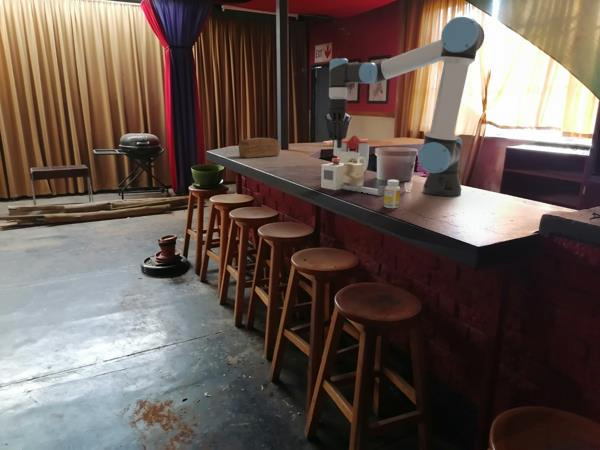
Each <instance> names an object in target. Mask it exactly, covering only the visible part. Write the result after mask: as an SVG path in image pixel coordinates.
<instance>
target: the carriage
mask: <svg viewBox="0 0 600 450" xmlns="http://www.w3.org/2000/svg"><path fill="white" fill-rule="evenodd" d="M364 176H365V174H364V164H360V163H352V162H350V163H344V168H343V185H348V186H354V187H358V186H362V187H363V186H364V179H365V177H364Z"/></svg>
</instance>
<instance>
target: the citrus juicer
mask: <svg viewBox="0 0 600 450" xmlns="http://www.w3.org/2000/svg"><path fill="white" fill-rule="evenodd" d="M370 143H371V141H369V140H362V139H360V138H359V137H358V136H357V135H356V134H353V135H352V137H350V138H349V139H343V140H342V147H341V148H340V152H357V153H360V155H359V157H364V158H365V159H366V161H367V168H366V170H365V172H364V175H365V174H366V171H367V169H368V166H369V157H370ZM359 162H360V164H364V160H360V161H359Z"/></svg>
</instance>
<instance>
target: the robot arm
mask: <svg viewBox="0 0 600 450" xmlns="http://www.w3.org/2000/svg"><path fill="white" fill-rule="evenodd" d="M484 40H485V31H484V29H483V27H482V25H481V24H479V23H478V21H476V20H475V19H474V18H472V17H471V16H467V15H460V16H459V15H458V16H456V17H454V18H453V17H452V19H449V21H448V22H447V23H446V24H445V25H444V27H443V29H442V31H441V38H440V39H439V40H435V41H433V42H429V43H428V44H424V45H422V46H419V47H417V48H414V49H412V50H409V51H407V52H404V53H400V54H398V55H395V56H393V57H391V58H387V59H385V60H382V61H379V62H377V63H374V62H366V61H365V62H358V63H357V62H356V63H349V60H348V59H347V58H333V59H331V60H330V61H329V68H328V69H329V70H328V71H329V74H328V76H329V77H328V81H329V84H328V87H329V88H328V97H329V98H330V99H328V108H329V111H328V114H327V115H324V116H323V117H324V120H325V122H326V127H327V134H328V139H331V140H332V148H333V152H334V153H333V156H335V157H337V156H339V155H340V148H341V147H342V140H346V138H347V133H348V129H349V125H350V121H351V120H352V116H351V115H349V114H348V112H347V107H348V99H347V98H348V84H369V85H378V84H381V83H383V81H386V80H390V79H392V78H395V77H398V76H401V75H404V74H406V73H410V72H412V71H416V70H419V69H422V68H425V67H427V66H430V65H433V64H436V63H438V62H441V61H442V62H443V65H442V70H441V75H440V80H439V86H438V89H437V95H436V101H435V106H434V110H433V111H434V112H433V116H432V121H431V126H430V130H429V131H428V132H427V133H425V135H424V140H423V143H422V146H421V148H420V150H419V152H418V154H417V155H418V156H417V160H418V163H419V166H420V167H421V169H423V170H424V171H425V172H427V173H428V175H427V177H426V179H425V182H424V184H423V185H422V192H423V193H425V194H428V195H431V196H438V197H439V196H440V197H455V196H460V195H461V194H462V186H461V182H460V177H459V172H460V171H459V170H460V163H461V156H462V155H461V154H462V148H463V140H462V138H461V137H459V136H456V135H455V131H456V126H457V122H458V117H459V111H460V108H461V103H462V98H463V93H464V89H465V86H466V85H465V84H466V80H467V77H468V76H467V75H468V71H469V66H470V65H471V64H473V62H475V60H476V55H477V52H478V51H479V49H480V48H481V47H482V45H483V43H484Z"/></svg>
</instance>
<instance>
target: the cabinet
mask: <svg viewBox="0 0 600 450" xmlns="http://www.w3.org/2000/svg"><path fill="white" fill-rule="evenodd" d="M343 168H344V163H339V165H333V162H331V163H323V164H321V171H320V173H321V174H320V175H321V176H320V178H321V179H320V184H321V185H320V187H321V188H323V189H327V190H333V191H338V190H342V189H341V184H343Z"/></svg>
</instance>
